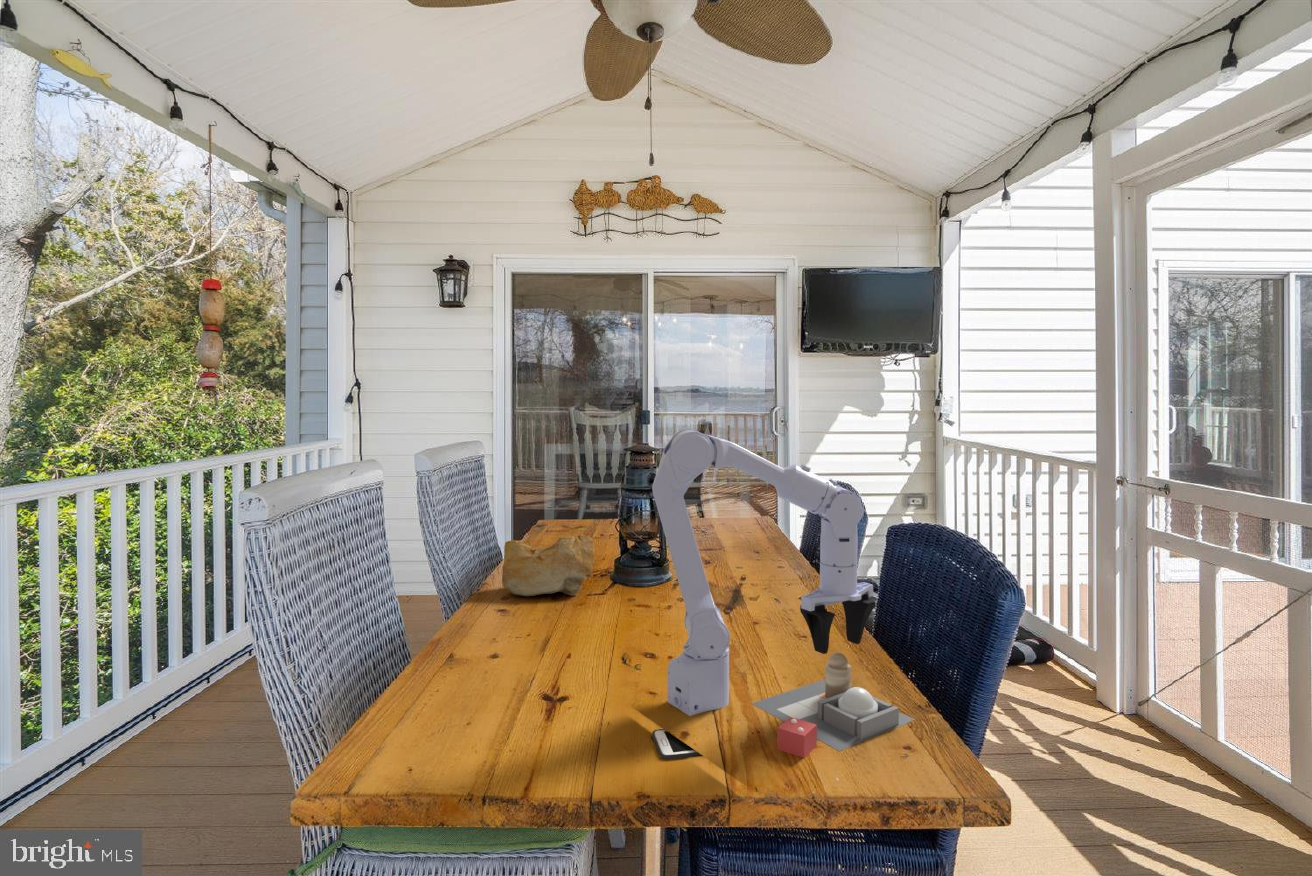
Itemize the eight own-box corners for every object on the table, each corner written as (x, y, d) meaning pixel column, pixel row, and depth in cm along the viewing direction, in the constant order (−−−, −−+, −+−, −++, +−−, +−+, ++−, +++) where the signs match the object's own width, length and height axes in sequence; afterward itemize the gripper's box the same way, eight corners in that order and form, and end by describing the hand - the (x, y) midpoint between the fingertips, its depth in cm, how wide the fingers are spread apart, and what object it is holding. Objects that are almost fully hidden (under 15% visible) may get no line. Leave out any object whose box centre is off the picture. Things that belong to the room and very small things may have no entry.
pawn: (839, 704, 110) (839, 660, 110) (819, 695, 113) (820, 652, 113) (856, 698, 112) (856, 654, 112) (837, 689, 116) (837, 647, 115)
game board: (839, 758, 96) (839, 733, 96) (751, 709, 111) (751, 688, 111) (915, 726, 105) (915, 703, 105) (824, 685, 120) (824, 665, 120)
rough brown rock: (604, 586, 186) (603, 529, 187) (592, 599, 170) (591, 536, 170) (519, 587, 188) (517, 531, 189) (499, 600, 172) (497, 538, 172)
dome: (860, 731, 101) (860, 699, 100) (830, 716, 105) (830, 686, 105) (885, 720, 104) (886, 690, 103) (855, 707, 108) (855, 677, 108)
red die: (804, 765, 94) (804, 733, 94) (777, 756, 96) (777, 724, 96) (816, 752, 97) (816, 721, 97) (790, 744, 100) (790, 714, 99)
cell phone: (650, 736, 103) (650, 730, 103) (746, 726, 106) (746, 720, 106) (661, 763, 96) (661, 756, 96) (764, 751, 98) (764, 745, 98)
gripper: (825, 574, 104) (824, 664, 105) (889, 561, 112) (887, 645, 113) (791, 565, 110) (791, 650, 111) (854, 553, 118) (853, 633, 119)
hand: (837, 647), depth 112 cm, fingers open, 7 cm apart
